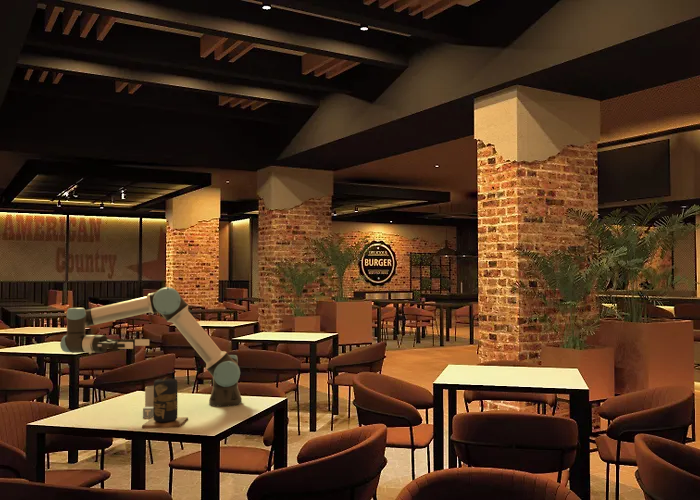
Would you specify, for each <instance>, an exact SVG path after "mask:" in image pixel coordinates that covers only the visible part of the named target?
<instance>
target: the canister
mask: <svg viewBox="0 0 700 500" xmlns="http://www.w3.org/2000/svg"><path fill="white" fill-rule="evenodd" d="M153 386H154V399H153V400H154V401H153V409H154V417H153V418H154V421H156V422H170V421H174V420H176V419H177V417H178V380H177V379H176V378H169V377H168V376H165V377H164V378H157V379H155V380H154V381H153Z"/></svg>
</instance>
